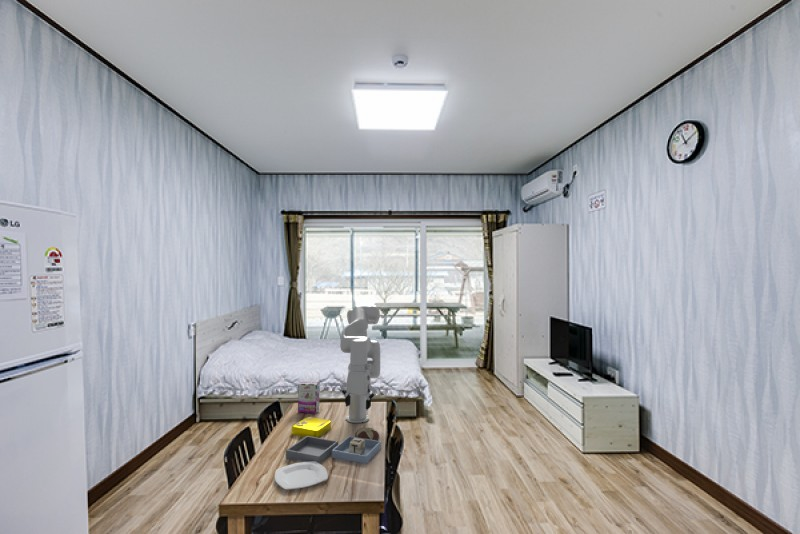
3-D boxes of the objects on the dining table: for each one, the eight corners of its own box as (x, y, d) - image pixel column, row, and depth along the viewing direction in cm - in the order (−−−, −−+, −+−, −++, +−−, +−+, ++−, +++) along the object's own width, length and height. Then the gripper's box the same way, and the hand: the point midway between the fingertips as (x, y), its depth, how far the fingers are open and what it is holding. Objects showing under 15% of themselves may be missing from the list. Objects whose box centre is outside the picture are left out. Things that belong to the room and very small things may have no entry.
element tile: (316, 440, 183) (316, 430, 183) (289, 435, 188) (290, 425, 188) (332, 429, 197) (332, 419, 197) (307, 424, 202) (307, 415, 202)
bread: (359, 446, 177) (359, 435, 177) (352, 436, 187) (353, 426, 188) (382, 442, 181) (382, 431, 181) (374, 433, 192) (374, 423, 192)
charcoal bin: (306, 443, 178) (307, 435, 178) (337, 449, 173) (337, 441, 173) (285, 458, 163) (285, 450, 163) (318, 465, 157) (319, 456, 158)
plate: (269, 473, 151) (270, 468, 151) (318, 463, 160) (318, 458, 160) (280, 498, 134) (280, 492, 134) (333, 484, 144) (333, 479, 144)
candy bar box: (319, 411, 222) (320, 382, 222) (316, 414, 217) (316, 384, 218) (301, 409, 224) (301, 381, 224) (297, 412, 219) (298, 383, 219)
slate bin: (348, 443, 178) (349, 436, 179) (380, 449, 173) (381, 441, 173) (331, 458, 163) (331, 450, 164) (366, 465, 158) (366, 456, 158)
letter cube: (354, 449, 171) (354, 437, 172) (364, 451, 170) (364, 439, 170) (349, 454, 167) (349, 442, 167) (359, 456, 165) (359, 444, 165)
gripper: (380, 367, 170) (379, 406, 170) (345, 364, 176) (344, 402, 175) (373, 371, 163) (372, 412, 163) (337, 367, 169) (336, 407, 168)
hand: (357, 407), depth 169 cm, fingers open, 9 cm apart
